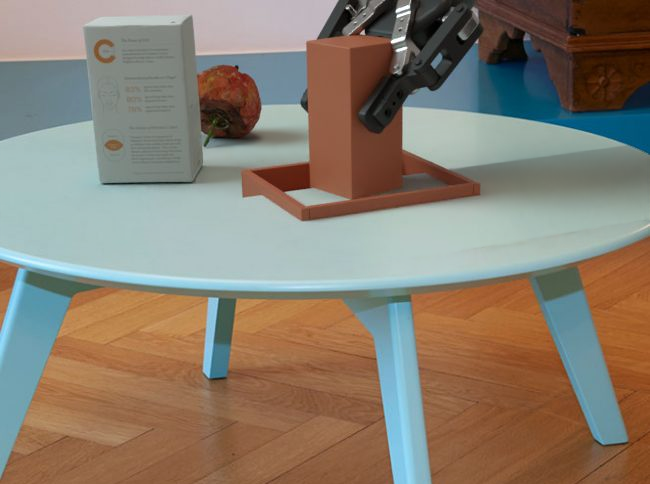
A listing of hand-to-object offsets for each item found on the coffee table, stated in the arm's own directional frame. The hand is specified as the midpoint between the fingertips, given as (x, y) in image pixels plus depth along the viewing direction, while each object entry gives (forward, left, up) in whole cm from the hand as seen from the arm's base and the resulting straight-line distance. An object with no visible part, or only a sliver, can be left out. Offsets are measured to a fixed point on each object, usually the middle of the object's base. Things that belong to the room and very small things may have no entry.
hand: (338, 118), depth 83 cm
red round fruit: (-1, -28, -7) cm, 29 cm away
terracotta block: (-2, -1, -7) cm, 7 cm away
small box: (+9, -18, -7) cm, 22 cm away
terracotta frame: (-2, 0, -7) cm, 7 cm away
